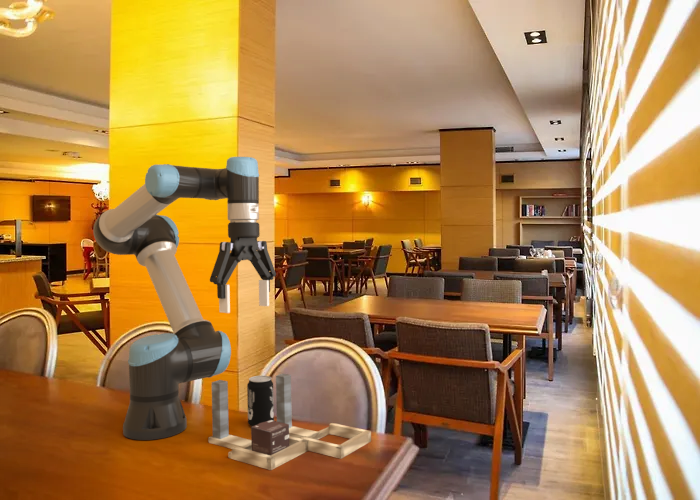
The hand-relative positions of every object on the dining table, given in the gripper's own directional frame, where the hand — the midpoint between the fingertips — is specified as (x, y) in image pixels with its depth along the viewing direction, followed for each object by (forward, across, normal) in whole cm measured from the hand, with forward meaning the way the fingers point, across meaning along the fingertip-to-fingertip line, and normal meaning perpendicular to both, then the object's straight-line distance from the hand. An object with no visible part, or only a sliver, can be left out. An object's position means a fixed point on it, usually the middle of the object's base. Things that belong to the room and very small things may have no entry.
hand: (245, 309), depth 140 cm
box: (+31, -8, -15) cm, 35 cm away
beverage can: (+31, +7, +2) cm, 32 cm away
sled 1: (+31, -7, -8) cm, 32 cm away
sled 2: (+31, +6, -17) cm, 35 cm away
